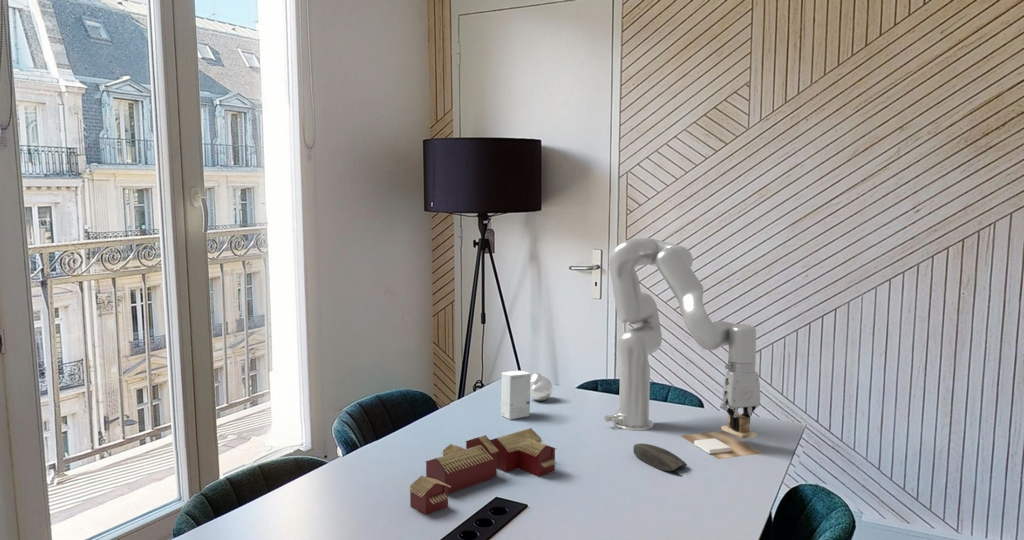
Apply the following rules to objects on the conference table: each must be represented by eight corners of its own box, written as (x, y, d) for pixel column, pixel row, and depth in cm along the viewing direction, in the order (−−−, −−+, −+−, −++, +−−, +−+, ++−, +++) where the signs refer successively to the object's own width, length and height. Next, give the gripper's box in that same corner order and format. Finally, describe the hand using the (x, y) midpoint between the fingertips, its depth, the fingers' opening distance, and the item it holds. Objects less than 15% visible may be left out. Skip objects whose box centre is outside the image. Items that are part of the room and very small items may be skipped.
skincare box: (509, 420, 233) (509, 375, 232) (499, 415, 238) (500, 372, 237) (530, 416, 238) (531, 372, 236) (520, 411, 243) (521, 368, 241)
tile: (694, 445, 209) (709, 454, 202) (694, 440, 209) (709, 449, 202) (714, 442, 211) (730, 452, 204) (714, 438, 211) (730, 447, 204)
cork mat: (718, 460, 199) (718, 458, 199) (680, 437, 218) (680, 435, 217) (763, 455, 203) (763, 453, 203) (722, 432, 222) (722, 431, 222)
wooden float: (742, 438, 203) (742, 421, 203) (721, 429, 213) (721, 412, 212) (756, 436, 205) (756, 419, 204) (735, 427, 214) (735, 411, 214)
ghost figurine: (527, 396, 261) (527, 369, 260) (552, 397, 260) (553, 370, 259) (525, 403, 252) (525, 375, 251) (551, 404, 251) (552, 376, 250)
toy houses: (514, 451, 206) (514, 417, 205) (565, 471, 191) (566, 434, 190) (380, 493, 176) (379, 454, 175) (429, 522, 161) (429, 478, 160)
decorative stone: (690, 471, 191) (690, 456, 191) (673, 477, 187) (674, 461, 187) (644, 452, 205) (644, 438, 205) (627, 457, 201) (628, 443, 201)
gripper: (725, 372, 200) (723, 435, 202) (773, 368, 205) (771, 430, 207) (709, 366, 207) (708, 427, 209) (757, 362, 212) (755, 422, 214)
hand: (739, 428), depth 208 cm, fingers closed on wooden float, 3 cm apart
